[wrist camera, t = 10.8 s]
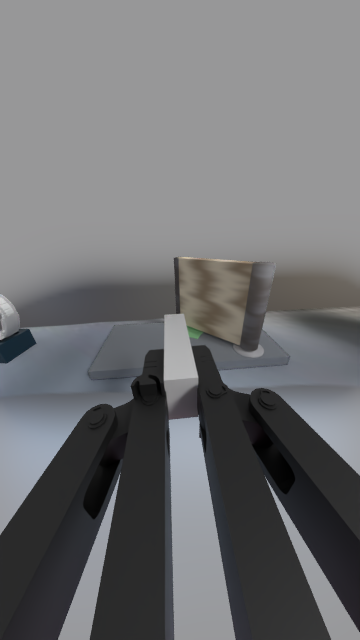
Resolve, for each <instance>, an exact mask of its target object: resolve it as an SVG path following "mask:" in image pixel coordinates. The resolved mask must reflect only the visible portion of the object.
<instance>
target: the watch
mask: <svg viewBox="0 0 360 640" xmlns="http://www.w3.org/2000/svg"><path fill="white" fill-rule="evenodd" d="M9 308H10V309H9ZM0 309H1V310H0V314H1V316H2V319H1V324H2V331H0V363H8V362H10V361H11V360H12V359H14V358H15V357H17V356H18V355H20V354H21V353H23V352H24V351H26V350H27V349H29V348H30V347H32V346H33V345H35V344H36V342H35V340H34V338H33V336H32V334H31V332H30V330H29V329H19V326H20V319H19V313H17V311H16V310H15V307H14V306H13V305H12V303H11V302H10V301H9V300H7V298H5V297H4V296H2V295H1V294H0ZM4 310H5V311H4Z"/></svg>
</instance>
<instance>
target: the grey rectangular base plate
mask: <svg viewBox="0 0 360 640" xmlns="http://www.w3.org/2000/svg"><path fill="white" fill-rule="evenodd" d="M186 326H187V325H186ZM187 330H188V334H189V339H190V343H191V346H198V345H206V346H207V347H208V348H209V349H210V351H211V353H212V357H213V359H214V362H215V364H216V367H217V369H218V370H225V369H238V368H251V367H263V366H276V365H287V364H288V361H289V358H290V356H289V355H288V354H287V353H286V352H285V351H284V350H283V349H282V348H281V347H280V346H279V345H278V344H277V343H276V342H275V341H274V340H273V339H272V338H271V337H270V336H269V335H268V334H267V333H266V332H264V331H263V330H262V331H261V336H260V340H259V345H258V349H257V350H255V351H247V350H244V349H243V348H241V347H240V345H237V344H235V343H232V342H229V341H227V340H224V339H221V338H219V337H216V336H213V335H211V334H208V333H205V332H203V331H200V330H197V329H195V328H192V327H189V326H187ZM156 349H164V322H160V323H143V324H127V325H114V327H113V329H112V330H111V332H110V334H109V336H108V337H107V339H106V341H105V343H104V344H103V346H102V348H101V350H100V351H99V353H98V355H97V357H96V359H95V360H94V362H93V364H92V366H91V367H90V369H89V371H88V373H89V376H90V379H91V380H98V379H111V378H124V377H136V376H140V375H142V372H143V366H144V360H145V355H146V354H147V353H148V351H149V350H156Z"/></svg>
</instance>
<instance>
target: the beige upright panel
mask: <svg viewBox="0 0 360 640" xmlns="http://www.w3.org/2000/svg"><path fill="white" fill-rule="evenodd" d="M275 267H276V264H275V263H270V262H247V261H233V260H217V259H203V258H189V257H176V258H174V269H175V293H176V314H184V317H185V321H186V325H187V326H189V327H192V328H195V329H197V330H200V331H203V332H205V333H208V334H211V335H213V336H216V337H219V338H221V339H224V340H227V341H229V342H232V343H235V344H237V345H240V347H241V348H243V349H244V350H247V351H255V350H257V349H258V345H259V340H260V336H261V331H262V326H263V322H264V317H265V313H266V308H267V303H268V299H269V294H270V290H271V285H272V280H273V276H274V271H275Z"/></svg>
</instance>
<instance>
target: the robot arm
mask: <svg viewBox="0 0 360 640" xmlns="http://www.w3.org/2000/svg"><path fill="white" fill-rule="evenodd" d="M131 389H132V393H133V396H134V399H132V400H131V401H130V402H128V403H126V404H124V405H121V406H119V407H116V408H113V407H112V406H110V405H108V404H100V405H97V406H95V407H93V408H91V409H90V410H88V411H87V412H86V413H85V414H84V416H83V417H82V418H81V419H80V421H79V422H78V424H77V426H76V427H75V428H74V430H73V431H72V432H71V434H70V435H69V437H68V438H67V440H66V441H65V443H64V444H63V446H62V447H61V448H60V450H59V451H58V453H57V454H56V456H55V457H54V458H53V460H52V461H51V463H50V464H49V466H48V467H47V469H46V470H45V471H44V473H43V474H42V476H41V477H40V479H39V480H38V482H37V483H36V484H35V486H34V487H33V489H32V490H31V492H30V493H29V494H28V496H27V497H26V499H25V500H24V502H23V503H22V505H21V506H20V508H19V509H18V510H17V512H16V513H15V515H14V516H13V518H12V519H11V521H10V522H9V523H8V525H7V526H6V528H5V529H4V531H3V532H2V533H1V535H0V640H58V637H59V635H60V632H61V629H62V627H63V624H64V621H65V619H66V616H67V613H68V610H69V608H70V605H71V603H72V600H73V597H74V594H75V592H76V589H77V586H78V584H79V581H80V579H81V576H82V573H83V571H84V568H85V565H86V563H87V560H88V557H89V555H90V552H91V549H92V546H93V544H94V541H95V539H96V536H97V533H98V531H99V528H100V525H101V522H102V520H103V517H104V515H105V512H106V509H107V507H108V504H109V501H110V499H111V496H112V493H113V491H114V488H115V485H116V483H117V480H118V477H119V474H120V472H121V474H120V479H119V485H118V490H117V496H116V502H115V506H114V512H113V517H112V523H111V528H110V534H109V539H108V544H107V549H106V555H105V560H104V566H103V571H102V576H101V582H100V587H99V593H98V598H97V604H96V609H95V614H94V620H93V625H92V631H91V636H90V640H174V614H173V613H174V612H173V567H172V524H171V483H170V482H171V478H170V434H169V420H170V419H180V418H190V417H198V415H199V421H200V433H199V434H200V435H199V437H200V438H201V439H202V445H203V452H204V457H205V463H206V469H207V475H208V480H209V486H210V492H211V498H212V504H213V509H214V516H215V521H216V527H217V533H218V539H219V545H220V551H221V556H222V562H223V568H224V574H225V580H226V586H227V591H228V597H229V603H230V609H231V615H232V620H233V626H234V632H235V638H236V640H331V638H330V636H329V633H328V631H327V628H326V626H325V623H324V621H323V618H322V616H321V613H320V611H319V609H318V606H317V604H316V601H315V599H314V596H313V594H312V591H311V589H310V586H309V584H308V582H307V579H306V577H305V574H304V572H303V569H302V567H301V565H300V562H299V559H298V557H297V554H296V552H295V549H294V547H293V545H292V542H291V540H290V537H289V535H288V532H287V530H286V527H285V525H284V522H283V520H282V517H281V515H280V513H279V510H278V508H277V505H276V503H275V500H274V498H273V496H272V493H271V491H270V488H269V486H268V483H267V481H266V479H267V480H268V482H269V483H270V485H271V487H272V488H273V490H274V492H275V494H276V495H277V497H278V498H279V500H280V502H281V503H282V505H283V507H284V508H285V510H286V512H287V513H288V515H289V516H290V518H291V520H292V521H293V523H294V524H295V526H296V528H297V530H298V531H299V533H300V535H301V536H302V538H303V540H304V541H305V543H306V545H307V546H308V548H309V549H310V551H311V553H312V554H313V556H314V558H315V559H316V561H317V563H318V564H319V566H320V568H321V569H322V571H323V573H324V574H325V576H326V578H327V579H328V581H329V582H330V584H331V586H332V587H333V589H334V591H335V592H336V594H337V596H338V597H339V599H340V600H341V602H342V604H343V605H344V607H345V609H346V610H347V612H348V614H349V615H350V617H351V619H352V620H353V622H354V624H355V625H356V627H357V629H358V630H359V632H360V476H359V475H358V474H357V473H356V472H355V471H354V470H353V469H352V468H351V467H350V466H349V465H348V464H347V463H346V462H345V461H344V460H343V459H342V458H341V457H340V456H339V455H338V454H337V453H336V452H335V451H334V450H333V449H332V448H331V447H330V446H329V445H328V444H327V443H326V442H325V441H324V440H323V439H322V438H321V437H320V436H319V435H318V434H317V433H316V432H315V431H314V430H313V429H312V428H311V427H310V426H309V425H308V424H307V423H306V422H305V421H304V420H303V419H302V418H301V417H300V416H299V415H298V414H297V413H296V412H295V411H294V410H293V409H292V408H291V407H290V406H289V405H288V404H287V403H286V402H285V401H284V400H283V399H282V398H281V397H280V396H279V395H278V394H276V393H275V392H273V391H271V390H268V389H264V388H259V389H255V390H254V391H252V393H251V395H249V394H244V393H239V392H235V391H233V390H231V389H229V388H228V387H227V386H226V385H225V384H224V383H223V382H222V380H221V377H220V374H219V372H218V369H217V367H216V364H215V362H214V359H213V357H212V353H211V351H210V349H209V348H208V347H207V346H206V345H198V346H191V343H190V339H189V334H188V330H187V326H186V321H185V317H184V314H173V315H165V319H164V349H156V350H149V351H148V353H147V354H146V355H145V360H144V366H143V372H142V375H140V376H138V377H137V378H136V379H135V380H134V381H133V382H132V385H131ZM264 475H265V476H264ZM265 477H266V478H265Z"/></svg>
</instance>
